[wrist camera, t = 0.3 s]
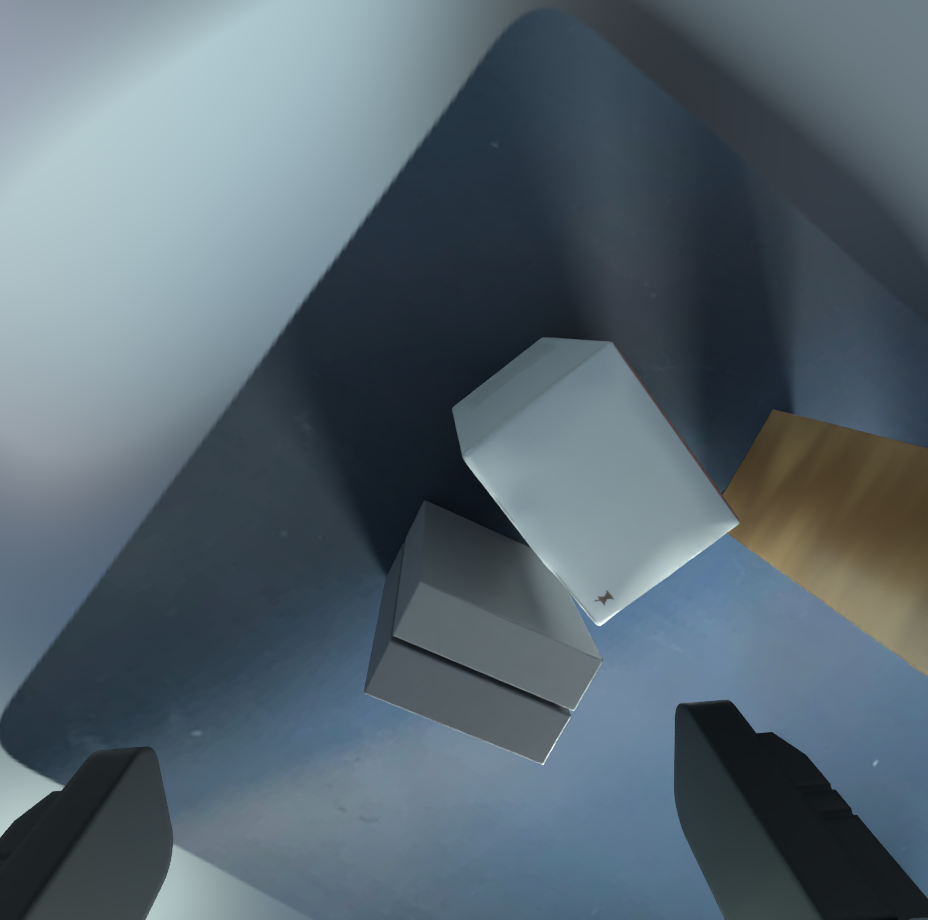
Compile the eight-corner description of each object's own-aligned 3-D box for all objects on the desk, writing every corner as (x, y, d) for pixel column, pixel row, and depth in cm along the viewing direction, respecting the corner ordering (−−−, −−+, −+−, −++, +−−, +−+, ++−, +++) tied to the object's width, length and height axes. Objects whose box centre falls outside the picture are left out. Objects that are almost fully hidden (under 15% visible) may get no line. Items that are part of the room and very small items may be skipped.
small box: (630, 450, 34) (747, 526, 21) (537, 519, 34) (598, 634, 22) (542, 331, 32) (613, 336, 19) (447, 406, 33) (455, 458, 20)
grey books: (424, 499, 34) (419, 580, 23) (552, 557, 35) (604, 660, 24) (385, 579, 35) (362, 693, 24) (510, 633, 36) (543, 765, 25)
